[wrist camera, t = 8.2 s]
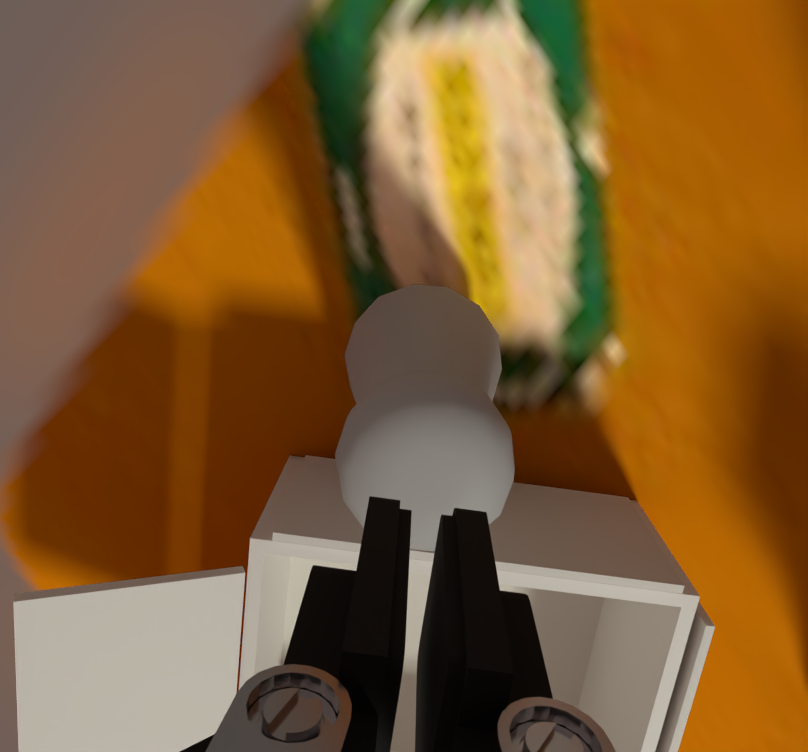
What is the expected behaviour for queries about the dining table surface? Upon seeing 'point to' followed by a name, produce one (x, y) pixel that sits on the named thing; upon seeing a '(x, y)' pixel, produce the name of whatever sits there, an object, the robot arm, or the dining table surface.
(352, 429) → the salt shaker
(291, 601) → the carton
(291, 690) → the robot arm
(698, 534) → the dining table surface
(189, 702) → the flap
